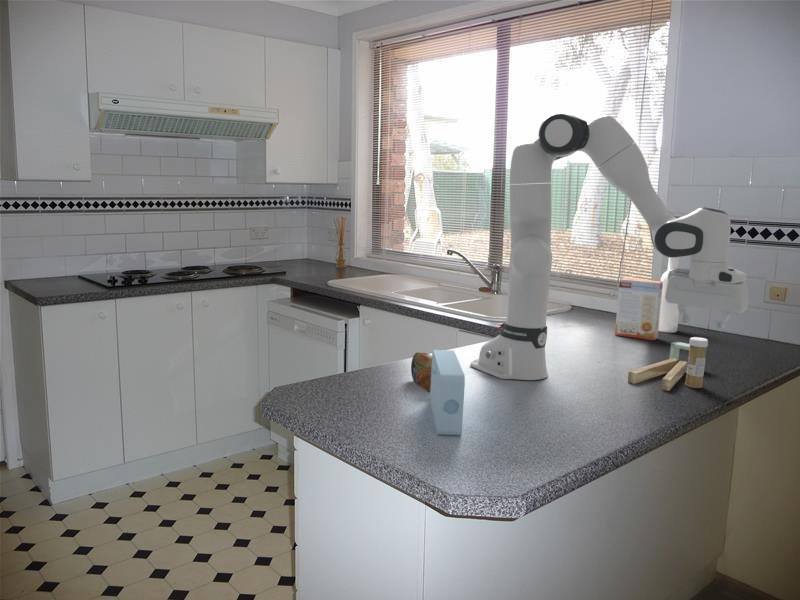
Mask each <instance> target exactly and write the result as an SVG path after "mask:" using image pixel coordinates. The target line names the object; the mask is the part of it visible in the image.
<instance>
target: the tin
mask: <svg viewBox="0 0 800 600" xmlns="http://www.w3.org/2000/svg"><path fill="white" fill-rule="evenodd" d="M431 369H432V354H430V353H427V352H419V351H417V352H415V354H413V356H412V359H411V366H410V372H411V378H412V380H413V382H414V383H415V384H416V385H417V386H419V387H421V388H422V389H423V390H426V391H427V392H430V389H431Z"/></svg>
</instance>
